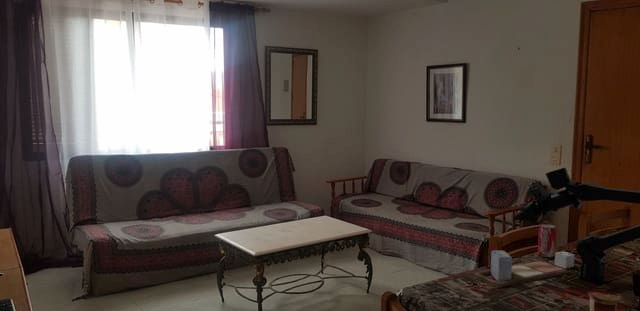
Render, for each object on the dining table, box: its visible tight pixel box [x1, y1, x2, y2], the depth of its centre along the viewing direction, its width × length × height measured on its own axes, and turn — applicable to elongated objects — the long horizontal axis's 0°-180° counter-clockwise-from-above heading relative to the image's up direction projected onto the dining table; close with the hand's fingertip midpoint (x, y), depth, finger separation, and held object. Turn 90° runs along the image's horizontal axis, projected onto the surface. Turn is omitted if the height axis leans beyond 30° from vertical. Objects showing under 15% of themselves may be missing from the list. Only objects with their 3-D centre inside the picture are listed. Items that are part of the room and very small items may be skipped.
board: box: [470, 260, 569, 289], centre depth 169 cm, size 12×33×1 cm, turn 116°
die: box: [554, 250, 575, 269], centre depth 178 cm, size 4×4×5 cm
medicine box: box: [490, 249, 513, 282], centre depth 164 cm, size 8×4×9 cm, turn 179°
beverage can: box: [537, 223, 558, 258], centre depth 189 cm, size 6×6×12 cm
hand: (517, 214), depth 181 cm, fingers open, 9 cm apart
